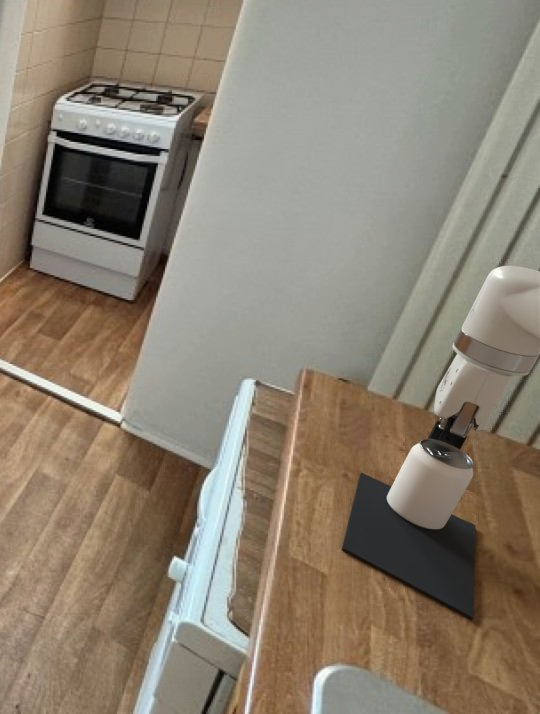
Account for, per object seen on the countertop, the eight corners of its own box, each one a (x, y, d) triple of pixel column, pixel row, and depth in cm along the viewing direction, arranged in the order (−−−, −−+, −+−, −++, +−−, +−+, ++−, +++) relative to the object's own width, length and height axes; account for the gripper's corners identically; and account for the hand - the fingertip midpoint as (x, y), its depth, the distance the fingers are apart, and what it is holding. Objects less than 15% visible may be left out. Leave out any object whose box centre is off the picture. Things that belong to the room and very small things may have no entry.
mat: (474, 527, 90) (475, 525, 90) (471, 620, 78) (473, 617, 77) (360, 474, 99) (361, 472, 99) (341, 550, 86) (342, 547, 86)
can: (454, 537, 88) (490, 476, 84) (398, 522, 90) (430, 462, 86) (428, 502, 94) (461, 443, 89) (377, 489, 96) (406, 431, 91)
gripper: (458, 318, 92) (411, 412, 99) (453, 359, 83) (402, 459, 90) (532, 341, 87) (477, 438, 94) (536, 387, 78) (475, 491, 84)
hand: (441, 448), depth 92 cm, fingers closed
